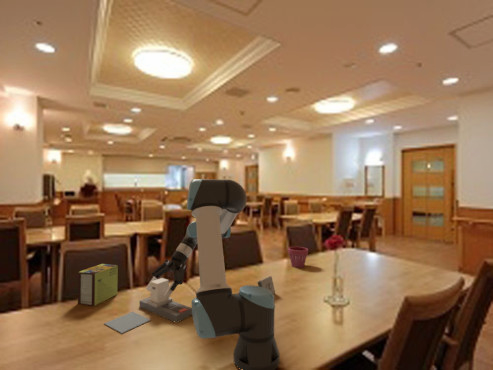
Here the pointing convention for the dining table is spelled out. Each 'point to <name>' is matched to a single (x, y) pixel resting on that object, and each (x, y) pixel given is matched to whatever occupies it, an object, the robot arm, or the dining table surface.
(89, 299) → the protein box
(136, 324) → the mat
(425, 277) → the dining table surface
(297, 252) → the plant pot
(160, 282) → the charger
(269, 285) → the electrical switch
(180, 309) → the power strip
